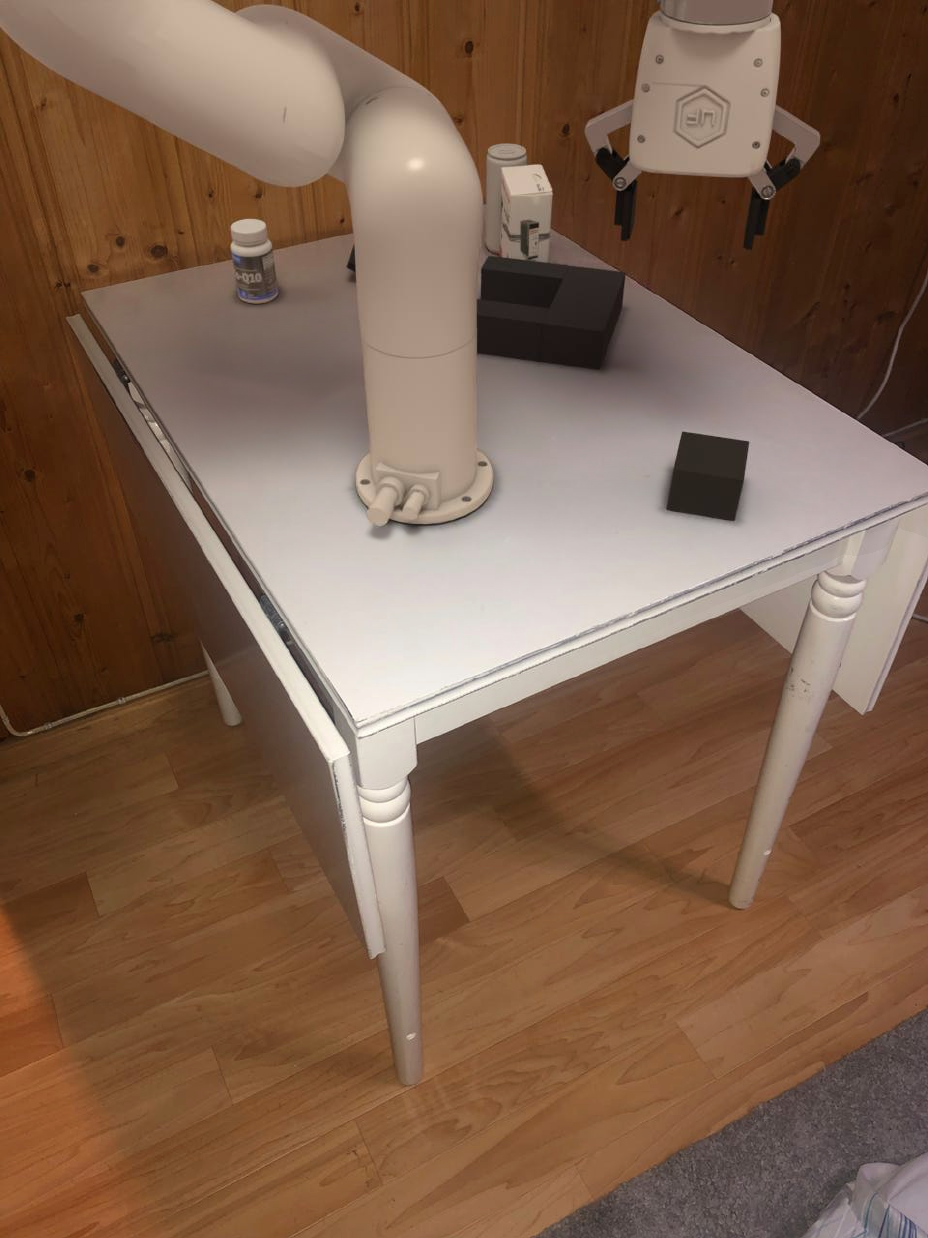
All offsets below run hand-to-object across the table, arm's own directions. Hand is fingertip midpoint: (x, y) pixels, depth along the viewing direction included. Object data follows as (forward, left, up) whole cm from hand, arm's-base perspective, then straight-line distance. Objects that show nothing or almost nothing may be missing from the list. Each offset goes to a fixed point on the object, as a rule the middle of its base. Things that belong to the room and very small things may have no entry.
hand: (687, 238), depth 82 cm
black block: (-5, -5, -21) cm, 22 cm away
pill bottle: (+20, +50, -22) cm, 58 cm away
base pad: (+21, +16, -21) cm, 34 cm away
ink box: (+33, +21, -22) cm, 45 cm away
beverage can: (+40, +25, -22) cm, 52 cm away
